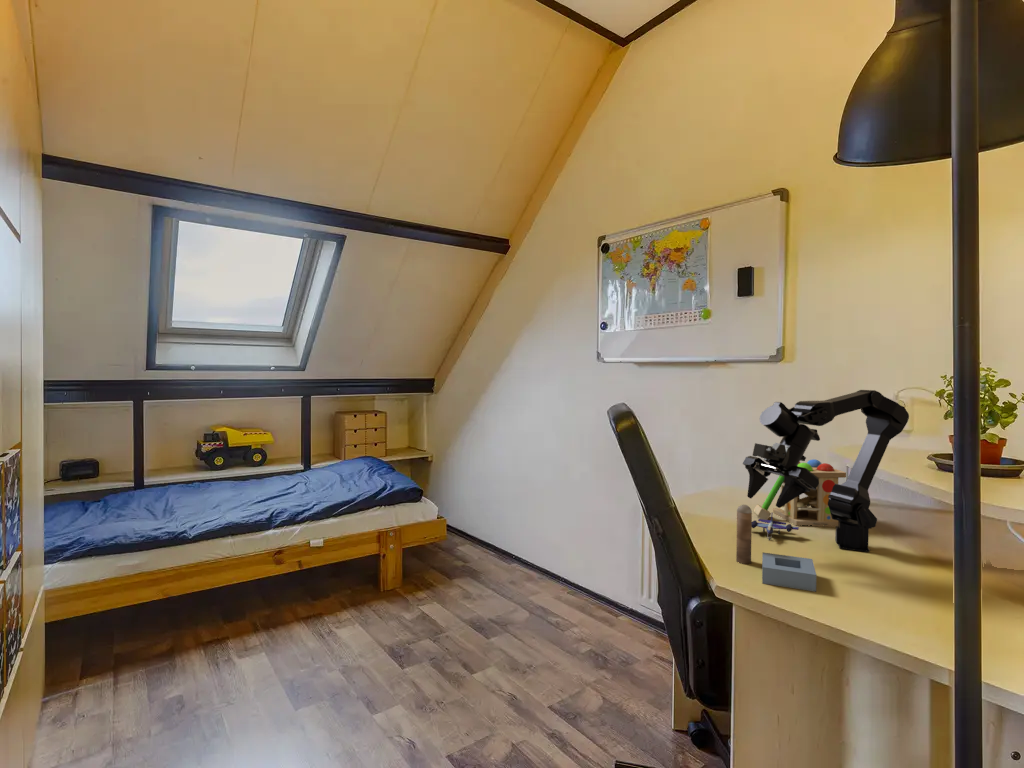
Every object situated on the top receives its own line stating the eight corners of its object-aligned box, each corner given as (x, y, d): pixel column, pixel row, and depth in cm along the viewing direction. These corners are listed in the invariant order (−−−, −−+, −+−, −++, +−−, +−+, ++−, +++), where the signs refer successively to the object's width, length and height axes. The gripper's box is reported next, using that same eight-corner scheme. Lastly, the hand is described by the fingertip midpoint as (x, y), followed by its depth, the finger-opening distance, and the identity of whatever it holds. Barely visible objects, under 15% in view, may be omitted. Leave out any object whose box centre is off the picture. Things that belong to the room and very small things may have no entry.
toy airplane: (767, 546, 137) (767, 532, 137) (734, 530, 150) (734, 517, 150) (811, 543, 139) (811, 529, 139) (774, 527, 153) (774, 515, 153)
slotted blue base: (811, 574, 118) (812, 558, 118) (816, 591, 109) (816, 574, 109) (762, 567, 122) (762, 552, 122) (762, 583, 113) (762, 567, 113)
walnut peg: (751, 560, 127) (751, 504, 126) (750, 565, 124) (751, 507, 123) (736, 558, 128) (737, 502, 128) (736, 562, 125) (736, 505, 125)
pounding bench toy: (766, 526, 154) (767, 465, 154) (745, 512, 168) (746, 456, 168) (846, 526, 154) (847, 465, 153) (818, 513, 168) (819, 457, 167)
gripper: (742, 425, 137) (714, 477, 134) (801, 434, 119) (769, 494, 117) (772, 447, 139) (744, 499, 137) (833, 459, 122) (802, 518, 119)
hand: (762, 502), depth 128 cm, fingers open, 9 cm apart
